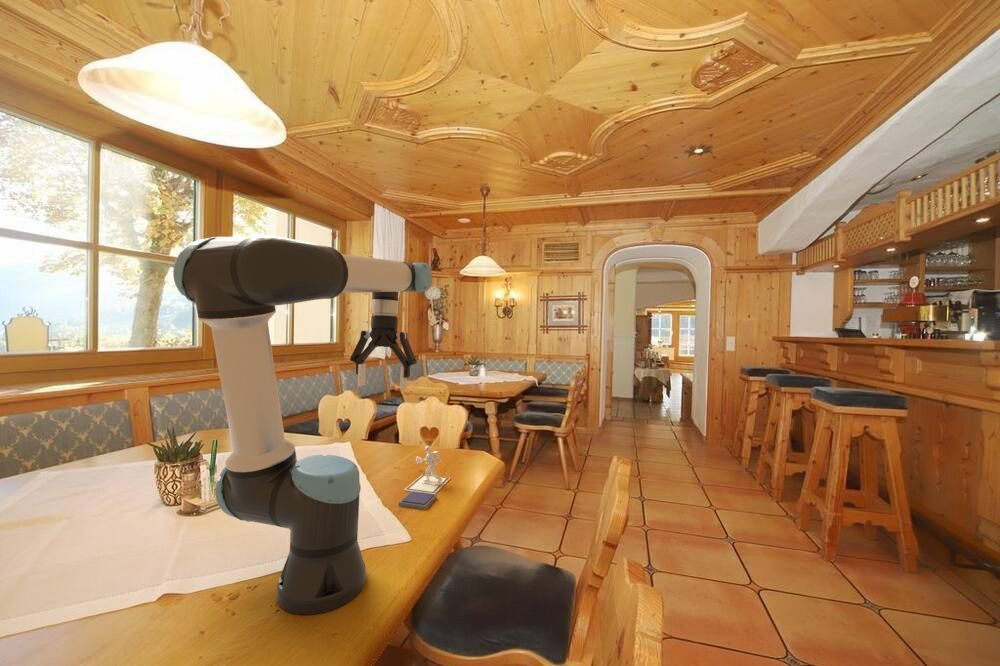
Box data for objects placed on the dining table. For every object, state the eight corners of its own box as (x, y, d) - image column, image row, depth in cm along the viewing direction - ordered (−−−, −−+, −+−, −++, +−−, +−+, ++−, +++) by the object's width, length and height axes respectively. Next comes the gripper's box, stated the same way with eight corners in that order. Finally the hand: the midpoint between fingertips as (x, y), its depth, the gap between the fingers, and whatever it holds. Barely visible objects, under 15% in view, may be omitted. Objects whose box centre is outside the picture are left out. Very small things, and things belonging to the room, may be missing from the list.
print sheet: (434, 494, 118) (434, 493, 118) (403, 490, 120) (403, 489, 120) (450, 478, 131) (450, 477, 131) (422, 474, 133) (422, 473, 133)
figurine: (441, 486, 123) (442, 448, 123) (412, 485, 123) (413, 447, 124) (444, 481, 128) (445, 443, 128) (416, 479, 128) (417, 442, 128)
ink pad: (425, 509, 108) (425, 505, 108) (398, 505, 109) (398, 501, 109) (436, 498, 115) (436, 493, 115) (411, 494, 117) (411, 490, 117)
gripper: (429, 316, 117) (426, 388, 117) (354, 314, 122) (351, 383, 122) (418, 315, 109) (415, 392, 109) (339, 313, 115) (336, 386, 115)
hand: (381, 387), depth 116 cm, fingers open, 13 cm apart
